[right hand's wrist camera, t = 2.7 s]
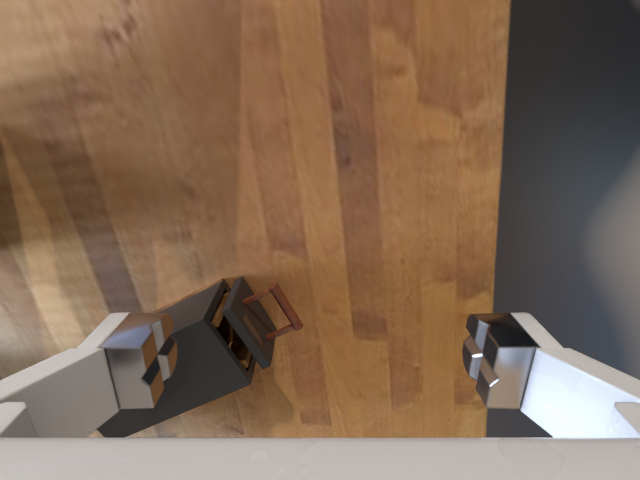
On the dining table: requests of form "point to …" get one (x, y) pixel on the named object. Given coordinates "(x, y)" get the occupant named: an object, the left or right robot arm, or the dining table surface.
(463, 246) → the dining table surface
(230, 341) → the drawer
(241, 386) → the dark grey long box
